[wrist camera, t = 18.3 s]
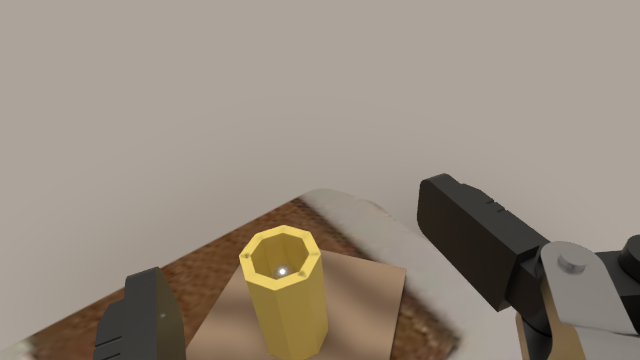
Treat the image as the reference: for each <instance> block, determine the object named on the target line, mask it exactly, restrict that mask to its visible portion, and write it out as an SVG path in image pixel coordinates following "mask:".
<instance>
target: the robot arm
mask: <svg viewBox="0 0 640 360" xmlns="http://www.w3.org/2000/svg"><path fill="white" fill-rule="evenodd" d="M417 221H418V225H419V227H420V230H421V231H422V233H423V234H424V235H425V236H426V237H427V238H428V240H429V241H431V243H432V244H433V245H434V246H435V247H436V248H437V249H438V250H439V251H440V252H441V253H442V254H443V255H444V256H445V257H446V259H447V260H448V261H449V262H450V263H451V264H452V265H453V266H454V267H455V268H456V269H457V270H458V271H459V272H460V273H461V274H462V275H463V276H464V278H465V279H466V280H467V281H468V282H469V283H470V284H471V285H472V286H473V287H474V288H475V289H476V290H477V291H478V292H479V293H480V294H481V295H482V297H483V298H484V299H485V300H486V301H487V302H488V303H489V304H490V305H491V306H492V307H493V308H494V309H495V310H496V311H497V312H499V311H501V310H503V309H506V308H508V307H510V306H512V307H513V308H514V309H515V310H516V311H517V313H516V317H515V318H516V325H517V330H518V336H519V341H520V347H521V352H522V358H523V360H640V235H635V236H632V237H630V238H629V239H628V241H627V243H626V244H625V246H624V248H623V250H621V251H609V252H597V253H593V252H592V251H590V250H588V249H587V248H584V247H582V246H580V245H577V244H574V243H570V242H563V241H556V242H550V241H549V240H547V239H546V238H544V237H543V236H542V235H540V234H539V233H538V232H536V231H535V230H534V229H532V228H531V227H529V226H528V225H527V224H525V223H524V222H523V221H521V220H520V219H519V218H517V217H516V216H515V215H513V214H512V213H511V212H509V211H508V210H507V211H506V210H505V208H504V207H503V206H501V205H500V204H498V203H497V202H494V200H493V199H492V198H490V197H489V196H487V195H486V194H485V193H484V192H482V191H481V190H479V189H476V188H474V187H471V186H469V185H466V184H460V183H458V182H457V181H456V180H455V179H454V178H452V177H451V176H450V175H448V174H445V173H444V174H440V175H437V176H434V177H431V178H428V179H425V180H423V181H422V182H421V184H420V190H419V200H418V211H417ZM95 347H96V349H95V350H94V357H93V360H186V349H185V338H184V327H183V319H182V314H181V311H180V307H179V305H178V302H177V300H176V298H175V296H174V294H173V292H172V290H171V288H170V286H169V284H168V282H167V281H166V279H165V277H164V275H163V273H162V271H161V269H160V268H159V267H154V268H152V269H148V270H145V271H142V272H139V273H136V274H133V275H130V276H128V277H127V278H126V282H125V295H124V299H123V300H120V301H117V302H114V303H112V304H109V306H108V308H107V309H106V311H105V313H104V315H103V317H102V318H101V320H100V322H99V324H98V327H97V335H96V342H95Z"/></svg>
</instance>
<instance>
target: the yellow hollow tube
mask: <svg viewBox="0 0 640 360" xmlns="http://www.w3.org/2000/svg"><path fill="white" fill-rule="evenodd" d="M239 258H240V262H241V265H242V269H243V273H244V276H245V280H246V283H247V286H248V289H249V292H250V296H251V299H252V302H253V305H254V308H255V311H256V314H257V317H258V320H259V324H260V327H261V330H262V333H263V336H264V339H265V342H266V345H267V348H268V351H269V354H270V355H273V356H275V357H277V358H280V359H282V360H304V359H306V358H309V357H311V356H313V355H316V354H318V353H319V351H320V348H321V346H322V344H323V341H324V339H325V337H326V334H327V332H328V320H327V310H326V299H325V289H324V279H323V269H322V259H321V253H320V251H319V249H318V247H317V245H316V243H315V241H314V239H313V237H312V235H311V233H310V232H307V231H304V230H300V229H296V228H293V227H289V226H286V225H282V226H279V227H276V228H273V229H270V230H267V231H263V232H260V233H257V234H255V235H254V237H253V238H252V239H251V241H250V242H249V243H248V245H247V246H246V247H245V249H244V250H243V251H242V253H241V254H240V255H239ZM280 264H287V265H289V266H290V267H291V268H292V269H293V271H294V274H291V275H289V276H286V277H283V278H280V279H278V280H275V279H272V272H273V270H274V268H275V267H276V266H278V265H280Z"/></svg>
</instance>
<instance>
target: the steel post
mask: <svg viewBox="0 0 640 360" xmlns="http://www.w3.org/2000/svg"><path fill="white" fill-rule="evenodd" d="M291 274H294V271H293V269H292V268H291V267H290V266H289V265H287V264H280V265H278V266H276V267H275V268H274V270H273V272H272V279H275V280H278V279H280V278H283V277H286V276H289V275H291Z"/></svg>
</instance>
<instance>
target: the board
mask: <svg viewBox="0 0 640 360" xmlns="http://www.w3.org/2000/svg"><path fill="white" fill-rule="evenodd" d="M319 251H320V253H321V259H322V269H323V279H324V289H325V299H326V310H327V320H328V332H327V334H326V337H325V339H324V341H323V344H322V346H321V348H320V351H319V353H318V354H316V355H313V356H311V357H309V358H306V359H304V360H390V355H391V350H392V344H393V339H394V334H395V329H396V324H397V318H398V313H399V308H400V303H401V297H402V292H403V287H404V282H405V277H406V269H404V268H400V267H395V266H391V265H386V264H382V263H377V262H373V261H369V260H364V259H360V258H355V257H351V256H346V255H342V254H338V253H333V252H329V251H324V250H320V249H319ZM186 360H282V359H280V358H277V357H275V356H273V355H270V354H269V351H268V348H267V345H266V342H265V339H264V336H263V333H262V330H261V327H260V324H259V320H258V317H257V314H256V311H255V308H254V305H253V302H252V299H251V296H250V292H249V289H248V286H247V283H246V280H245V276H244V273H243V269H242V265H241V264H240V265H239V267H238V268H237V270H236V271H235V273H234V275H233V276H232V278H231V279H230V281H229V282H228V284H227V286H226V287H225V289H224V290H223V292H222V293H221V295H220V297H219V298H218V300H217V301H216V303H215V304H214V306H213V308H212V309H211V311H210V312H209V314H208V316H207V317H206V319H205V320H204V322H203V323H202V325H201V327H200V328H199V330H198V331H197V333H196V334H195V336H194V338H193V339H192V341H191V342H190V344H189V345H188V347H187V349H186Z"/></svg>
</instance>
